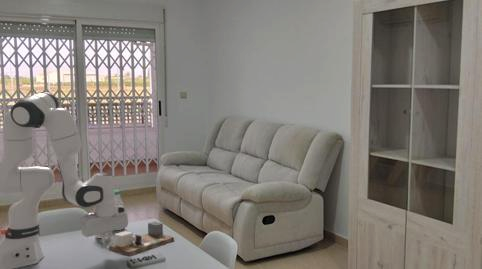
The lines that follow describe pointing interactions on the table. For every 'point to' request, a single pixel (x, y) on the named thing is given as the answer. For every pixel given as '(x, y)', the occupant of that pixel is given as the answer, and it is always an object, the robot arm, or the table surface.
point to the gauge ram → (124, 239)
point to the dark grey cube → (155, 229)
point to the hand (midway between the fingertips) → (106, 242)
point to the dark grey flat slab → (138, 240)
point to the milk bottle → (118, 199)
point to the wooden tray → (146, 239)
